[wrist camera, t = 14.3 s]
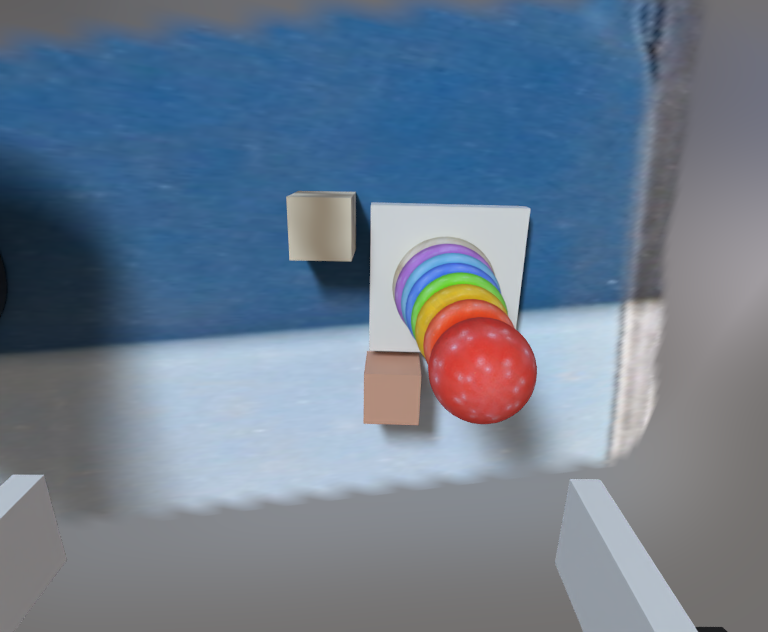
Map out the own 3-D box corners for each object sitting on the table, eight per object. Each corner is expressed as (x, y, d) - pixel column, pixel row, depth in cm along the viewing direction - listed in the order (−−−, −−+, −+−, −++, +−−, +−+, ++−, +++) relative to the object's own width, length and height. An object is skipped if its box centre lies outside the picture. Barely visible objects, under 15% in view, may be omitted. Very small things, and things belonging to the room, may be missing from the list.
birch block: (300, 247, 40) (289, 260, 35) (298, 190, 38) (286, 196, 34) (356, 248, 40) (351, 261, 35) (355, 191, 38) (350, 198, 34)
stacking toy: (479, 338, 40) (545, 490, 23) (384, 320, 40) (376, 461, 22) (504, 245, 38) (602, 335, 20) (403, 225, 37) (412, 299, 20)
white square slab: (370, 343, 42) (369, 350, 41) (371, 202, 38) (370, 204, 37) (508, 347, 42) (512, 354, 41) (525, 206, 38) (530, 208, 37)
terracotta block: (366, 396, 44) (363, 423, 40) (367, 350, 43) (364, 373, 38) (416, 398, 44) (418, 425, 40) (418, 352, 43) (421, 375, 38)
